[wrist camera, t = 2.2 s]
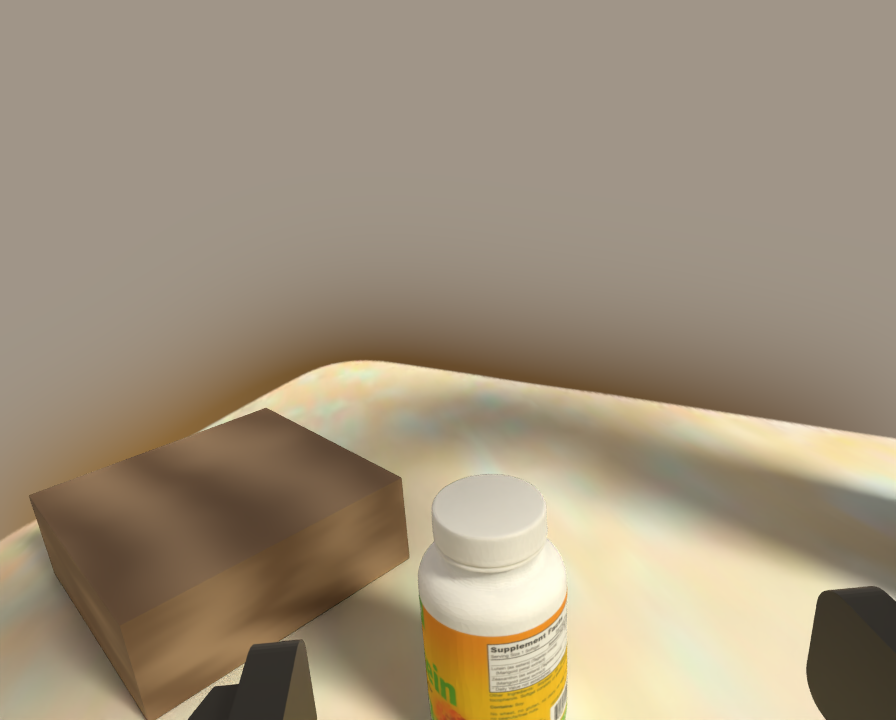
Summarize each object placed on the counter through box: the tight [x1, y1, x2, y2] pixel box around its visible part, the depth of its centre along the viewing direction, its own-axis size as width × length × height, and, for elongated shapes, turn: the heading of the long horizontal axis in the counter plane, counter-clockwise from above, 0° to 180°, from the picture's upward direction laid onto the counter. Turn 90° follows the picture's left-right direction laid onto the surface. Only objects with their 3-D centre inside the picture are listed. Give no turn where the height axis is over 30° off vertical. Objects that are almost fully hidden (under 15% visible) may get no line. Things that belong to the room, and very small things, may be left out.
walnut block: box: [29, 408, 409, 720], centre depth 34 cm, size 14×14×5 cm
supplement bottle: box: [418, 474, 567, 720], centre depth 24 cm, size 5×5×10 cm
